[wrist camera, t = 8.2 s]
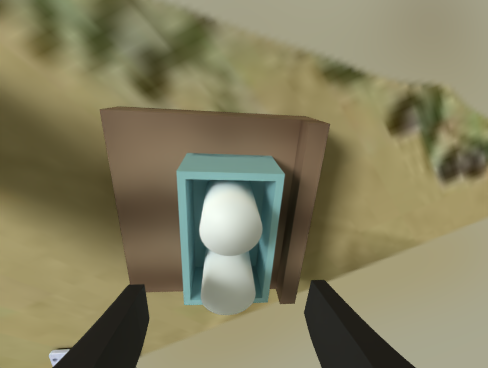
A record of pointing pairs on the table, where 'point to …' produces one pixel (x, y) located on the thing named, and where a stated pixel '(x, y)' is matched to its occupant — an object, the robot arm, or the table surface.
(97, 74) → the table surface
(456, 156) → the table surface
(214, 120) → the brown flat block
